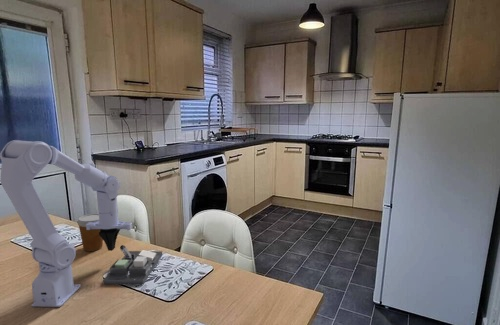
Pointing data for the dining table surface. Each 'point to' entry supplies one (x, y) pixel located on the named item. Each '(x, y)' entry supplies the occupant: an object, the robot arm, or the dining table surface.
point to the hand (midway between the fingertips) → (111, 249)
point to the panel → (131, 270)
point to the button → (121, 263)
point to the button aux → (140, 261)
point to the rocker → (147, 254)
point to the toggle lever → (125, 251)
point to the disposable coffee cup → (90, 233)
